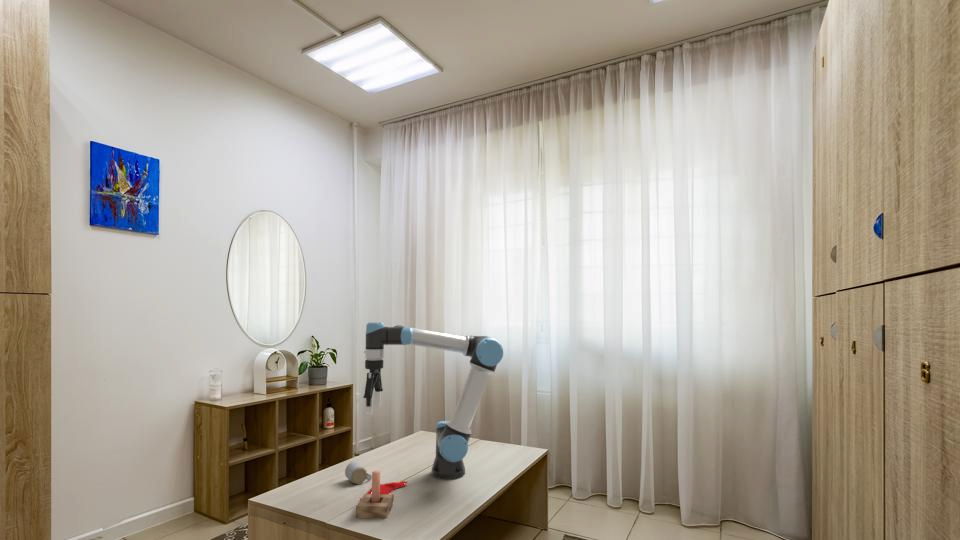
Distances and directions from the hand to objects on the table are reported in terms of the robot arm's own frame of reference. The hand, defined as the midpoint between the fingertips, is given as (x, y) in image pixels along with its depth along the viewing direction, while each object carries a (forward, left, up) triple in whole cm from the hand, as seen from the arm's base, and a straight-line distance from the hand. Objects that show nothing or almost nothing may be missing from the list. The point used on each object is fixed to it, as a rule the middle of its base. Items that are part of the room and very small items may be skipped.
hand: (373, 410), depth 199 cm
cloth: (-6, +1, -33) cm, 33 cm away
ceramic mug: (+8, -9, -32) cm, 34 cm away
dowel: (-7, +21, -32) cm, 39 cm away
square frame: (-7, +21, -32) cm, 39 cm away
